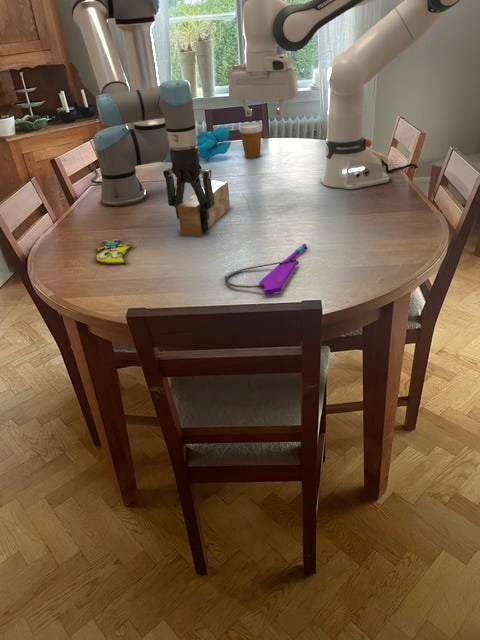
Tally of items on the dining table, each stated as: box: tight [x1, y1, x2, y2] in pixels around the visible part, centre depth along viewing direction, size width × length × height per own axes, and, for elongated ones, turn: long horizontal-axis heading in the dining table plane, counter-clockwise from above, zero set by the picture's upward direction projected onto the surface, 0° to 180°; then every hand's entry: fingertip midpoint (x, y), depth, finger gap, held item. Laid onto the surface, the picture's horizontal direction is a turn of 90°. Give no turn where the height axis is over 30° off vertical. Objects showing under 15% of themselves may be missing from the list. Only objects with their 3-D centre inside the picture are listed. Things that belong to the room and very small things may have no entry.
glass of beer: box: [239, 123, 263, 159], centre depth 199 cm, size 10×10×12 cm
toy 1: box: [95, 238, 133, 265], centre depth 129 cm, size 10×1×15 cm
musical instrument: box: [224, 243, 308, 296], centre depth 113 cm, size 24×2×20 cm
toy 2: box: [165, 126, 232, 162], centre depth 202 cm, size 17×11×30 cm
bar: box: [177, 180, 231, 237], centre depth 141 cm, size 23×6×9 cm, turn 159°
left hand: (194, 230), depth 137 cm, fingers closed on bar, 6 cm apart
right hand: (263, 115), depth 142 cm, fingers open, 8 cm apart
